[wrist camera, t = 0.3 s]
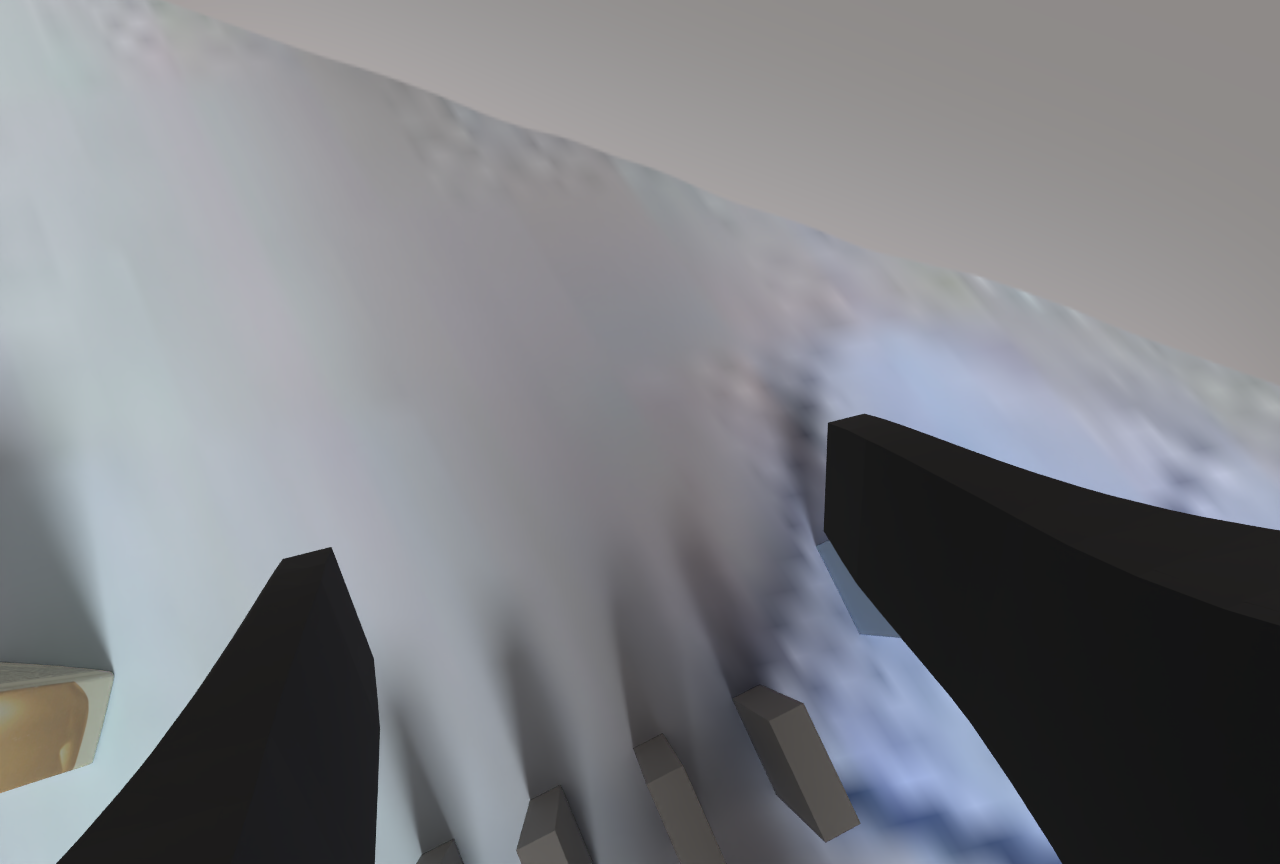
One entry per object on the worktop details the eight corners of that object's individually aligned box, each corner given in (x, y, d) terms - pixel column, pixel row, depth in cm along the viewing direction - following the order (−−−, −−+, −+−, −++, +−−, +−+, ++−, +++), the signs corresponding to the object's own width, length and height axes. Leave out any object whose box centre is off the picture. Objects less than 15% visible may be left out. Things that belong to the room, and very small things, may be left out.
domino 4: (886, 621, 40) (958, 623, 33) (860, 634, 40) (926, 640, 32) (842, 533, 41) (902, 515, 34) (816, 546, 41) (870, 531, 33)
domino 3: (804, 779, 38) (860, 823, 31) (776, 795, 38) (825, 842, 30) (760, 684, 39) (803, 703, 32) (732, 698, 39) (768, 721, 31)
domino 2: (705, 832, 38) (738, 890, 30) (676, 848, 37) (701, 911, 30) (662, 733, 38) (683, 765, 31) (633, 748, 38) (646, 784, 30)
